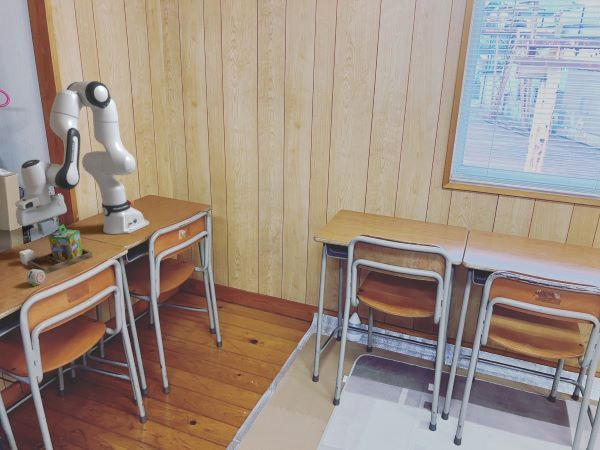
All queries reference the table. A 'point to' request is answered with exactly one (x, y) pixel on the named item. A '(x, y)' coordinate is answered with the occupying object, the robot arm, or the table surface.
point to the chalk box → (66, 244)
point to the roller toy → (35, 277)
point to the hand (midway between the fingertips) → (46, 228)
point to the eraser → (26, 256)
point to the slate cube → (46, 226)
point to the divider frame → (57, 261)
